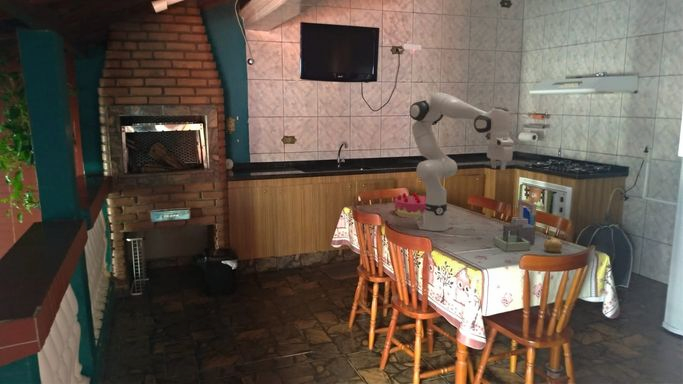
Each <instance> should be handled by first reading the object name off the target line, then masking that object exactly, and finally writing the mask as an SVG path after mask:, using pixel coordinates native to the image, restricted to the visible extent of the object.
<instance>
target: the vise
mask: <svg viewBox="0 0 683 384" xmlns="http://www.w3.org/2000/svg"><path fill="white" fill-rule="evenodd" d="M516 224H521V225H523V232H522V239H524V240H526V241H528V242H530V246H532V245H535V243H536V241H535V239H536V226H535V227H534V226H532V225H530V224H528V219H524V218H523V219H517V216H516V217H511V221H510V223H509V225H516ZM509 236H517V231H509Z"/></svg>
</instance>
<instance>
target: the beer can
mask: <svg viewBox="0 0 683 384" xmlns="http://www.w3.org/2000/svg"><path fill="white" fill-rule="evenodd" d="M523 218H524V219H528V224H530V225H532V226H534V227H535V228H536V226H535V224H536V215H530V208H528V207H526V206H523Z"/></svg>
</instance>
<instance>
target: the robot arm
mask: <svg viewBox="0 0 683 384" xmlns="http://www.w3.org/2000/svg"><path fill="white" fill-rule="evenodd" d="M409 115H410V118H411V119H412V120H414V123H413V124H412V127H411V130H412V135H413V138H414V141H415V144H416V146H417V150H418V152H419V154H420V155H421V156H422V157H424V158H426V160H423V161H420V162H419V163H418V164H417V166H416V175H417V176H418V178H419V179H420V180H421V181H422V182H423V184H424V187H425V196H426V204H425V210H424V211H423V213H422V214H421V216H419V219H418V220H419V221H416V224H417V225H416V226H417V227H418V230H425V231H432V232H442V231H443V232H444V231H447V230H449V229H452V228H453V225H451V224H450V213H449V212H448V211H447V210H448V204H447V194H448V193H447V189H446V188H445V187H444V186H443V185H442V184H441V179H448V178H450V177H453V176H455V175H456V174H457V171H458V165H457V161H455V160H454V159H452V158H450V157H449V156H448V155H447V154H446V153H445V152H444V151H443V149H442V148H441V147H440V144H439V143H438V141H437V139H436V135H435V133H434V132H433V128H432V126H436V125H437V124H438V122H439V121H441V120H443V118H444V117H445V118H446V117H447V118H450V119H456V120H457V119H458V120H460V119H464V120H465V119H467V120H473V127H474V130H475V131H476V132H477V133H479V134H490V136H489V137H490V138H489V139H490V141H489V142H488V144H487V149H486V157H487V158H488V159H490V162H491V168H492V169H497V163H496V161H501V165H500V170H501V171H506V166H507V164H508V162H509V163H510V162H512V160H513V156H514V155H513V153H514V152H513V151H514V148H513V146H514V144H515V142H514V140H513V139H512V138H511V137H510V131H509V130H510V126H511V114H510V110H509V109H508V108H507V107H501V106H500V107H499V106H495V107H493V108H492V109H491V110H489V111H486V110H483V109H481V108H478V107H476V106H473V105H472V104H469V103H467V102H465V101H463V100H461V99H459V98H458V97H456V96H453V95H452V94H448V93H445V92H440V91H438V92H435V93H434V94H433V95H432V96H431V97H430V100H428V101H427V100H420V101H419V100H418V101H416V102H414V103H412V104H411V105H410V107H409Z"/></svg>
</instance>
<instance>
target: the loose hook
mask: <svg viewBox="0 0 683 384" xmlns="http://www.w3.org/2000/svg"><path fill="white" fill-rule="evenodd" d="M502 226H503V227H502V236H503V241H504V242H506V243H508V236H509V235H510V231H517V239H516V243H519V242H522V232H523V225H521V224H516V225H510V224H503V225H502Z"/></svg>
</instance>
